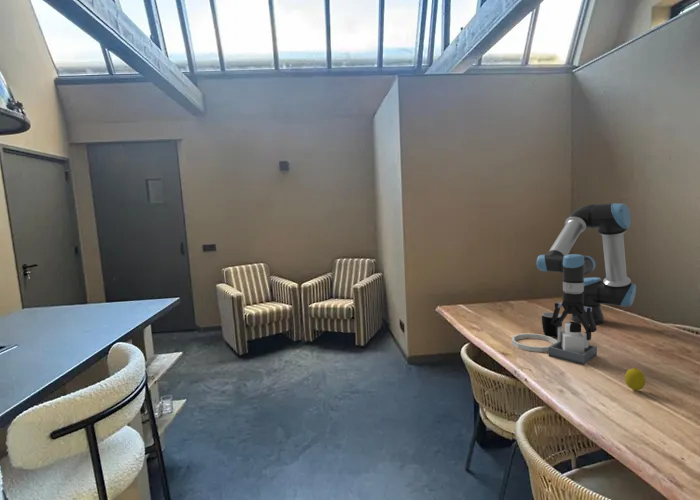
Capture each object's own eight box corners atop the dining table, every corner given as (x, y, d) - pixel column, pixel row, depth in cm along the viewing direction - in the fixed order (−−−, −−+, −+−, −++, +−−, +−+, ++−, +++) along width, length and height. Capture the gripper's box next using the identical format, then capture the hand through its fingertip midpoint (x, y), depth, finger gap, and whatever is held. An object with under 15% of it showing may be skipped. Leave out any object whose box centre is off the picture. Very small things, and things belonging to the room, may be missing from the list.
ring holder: (524, 334, 191) (524, 331, 191) (565, 343, 176) (565, 339, 176) (504, 344, 179) (504, 340, 179) (546, 355, 165) (546, 350, 164)
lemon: (620, 387, 133) (621, 365, 132) (635, 386, 134) (636, 364, 133) (633, 395, 128) (634, 372, 127) (649, 393, 128) (650, 370, 127)
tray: (562, 347, 172) (562, 339, 171) (596, 355, 161) (597, 346, 161) (548, 356, 163) (548, 347, 163) (583, 365, 153) (584, 355, 152)
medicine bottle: (580, 348, 164) (580, 320, 163) (584, 354, 158) (584, 325, 156) (561, 346, 167) (561, 319, 165) (564, 352, 160) (564, 324, 159)
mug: (565, 338, 184) (565, 317, 183) (545, 338, 185) (545, 317, 184) (555, 330, 196) (555, 310, 195) (536, 330, 197) (536, 311, 196)
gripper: (541, 290, 166) (541, 340, 168) (600, 297, 149) (599, 353, 151) (549, 287, 171) (549, 336, 173) (607, 293, 153) (606, 348, 156)
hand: (572, 344), depth 162 cm, fingers closed on medicine bottle, 9 cm apart
